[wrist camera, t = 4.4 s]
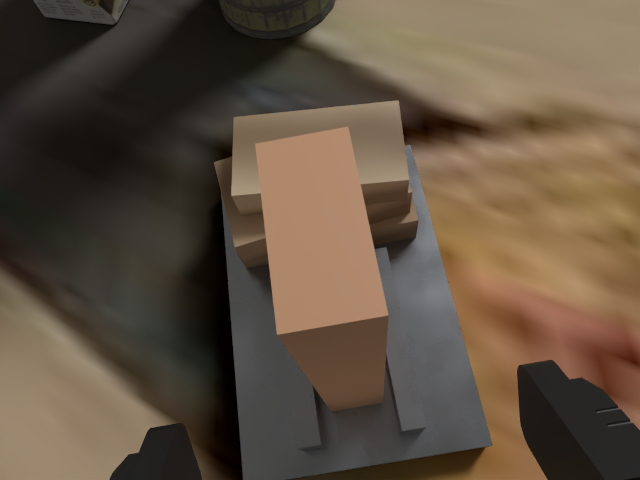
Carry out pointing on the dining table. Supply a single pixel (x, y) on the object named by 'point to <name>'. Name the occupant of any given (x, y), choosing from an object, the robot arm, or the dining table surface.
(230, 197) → the offcut pile
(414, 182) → the rack
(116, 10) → the coffee box
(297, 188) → the board
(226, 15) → the thermos
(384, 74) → the dining table surface
